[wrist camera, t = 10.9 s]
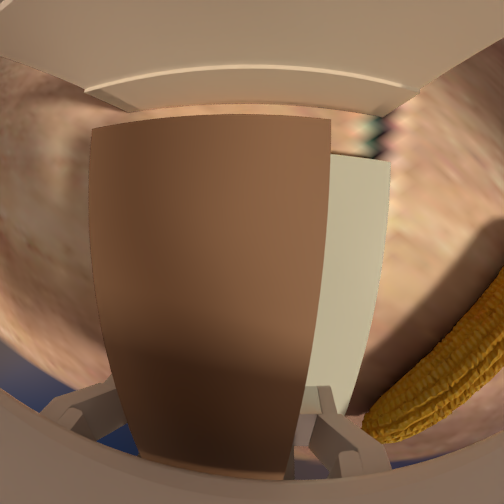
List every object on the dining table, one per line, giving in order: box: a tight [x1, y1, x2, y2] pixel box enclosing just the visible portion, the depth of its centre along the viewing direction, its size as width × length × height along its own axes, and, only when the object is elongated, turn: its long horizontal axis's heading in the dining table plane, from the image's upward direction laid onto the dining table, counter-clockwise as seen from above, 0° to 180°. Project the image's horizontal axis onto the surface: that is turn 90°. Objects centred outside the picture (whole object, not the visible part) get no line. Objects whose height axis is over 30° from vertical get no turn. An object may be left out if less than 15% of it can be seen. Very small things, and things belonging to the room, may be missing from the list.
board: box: [305, 154, 391, 416], centre depth 16 cm, size 16×18×1 cm
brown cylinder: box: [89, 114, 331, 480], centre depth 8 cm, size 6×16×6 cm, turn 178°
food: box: [360, 266, 504, 444], centre depth 14 cm, size 21×6×6 cm, turn 136°
